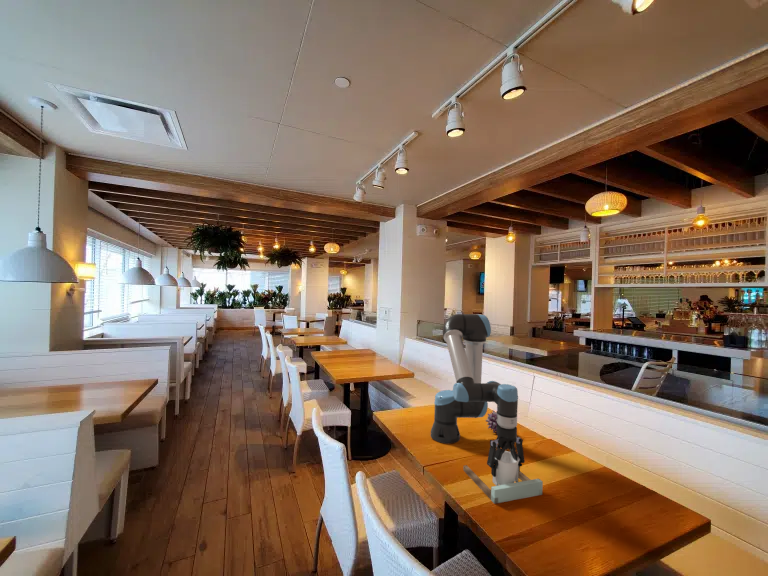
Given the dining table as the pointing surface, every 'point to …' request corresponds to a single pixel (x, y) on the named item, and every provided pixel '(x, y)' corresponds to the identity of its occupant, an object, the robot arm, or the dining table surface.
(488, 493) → the channel
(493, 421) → the flower
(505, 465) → the cup
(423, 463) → the dining table surface
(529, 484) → the block
